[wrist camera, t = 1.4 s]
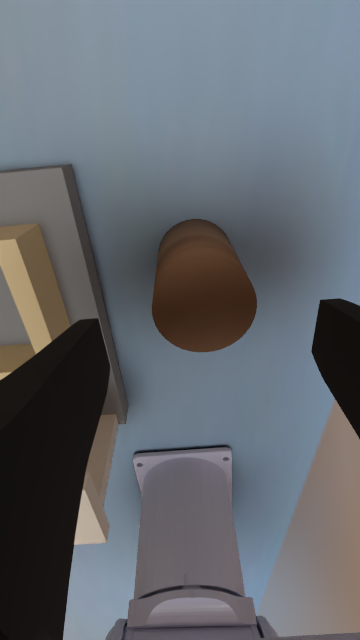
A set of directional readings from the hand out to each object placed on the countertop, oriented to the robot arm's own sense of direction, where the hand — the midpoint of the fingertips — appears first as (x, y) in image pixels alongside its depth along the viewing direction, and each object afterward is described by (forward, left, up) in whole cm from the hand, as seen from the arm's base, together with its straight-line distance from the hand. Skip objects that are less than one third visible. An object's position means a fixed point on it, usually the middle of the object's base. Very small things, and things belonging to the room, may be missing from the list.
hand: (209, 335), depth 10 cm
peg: (0, 0, -8) cm, 8 cm away
